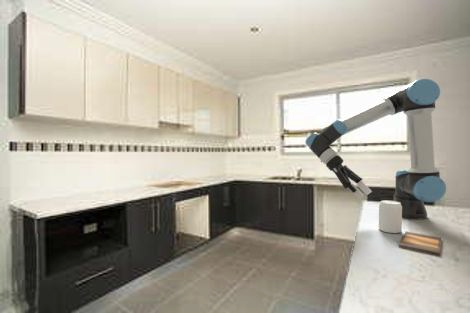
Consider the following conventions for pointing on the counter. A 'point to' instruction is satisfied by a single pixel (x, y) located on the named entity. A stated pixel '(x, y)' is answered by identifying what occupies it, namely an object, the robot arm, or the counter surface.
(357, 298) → the counter surface
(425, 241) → the label board
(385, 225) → the beverage can
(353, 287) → the counter surface
